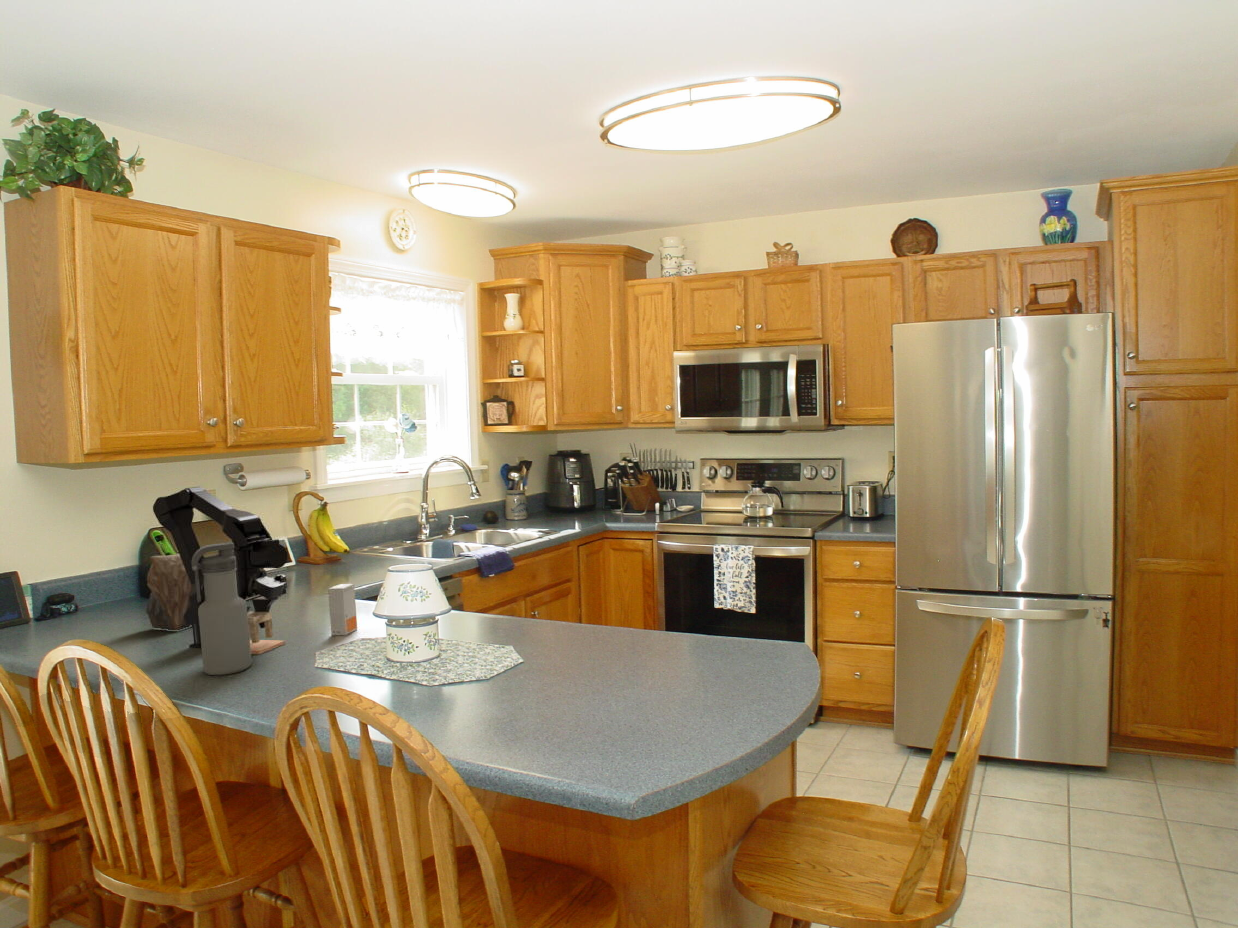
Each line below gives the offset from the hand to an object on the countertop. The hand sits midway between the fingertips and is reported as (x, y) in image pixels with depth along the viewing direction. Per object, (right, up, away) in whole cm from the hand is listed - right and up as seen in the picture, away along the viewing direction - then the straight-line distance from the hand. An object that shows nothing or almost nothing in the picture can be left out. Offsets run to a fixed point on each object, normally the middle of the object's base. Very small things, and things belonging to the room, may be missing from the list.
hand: (253, 631), depth 210 cm
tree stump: (-33, -5, +29) cm, 45 cm away
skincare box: (+19, -3, +11) cm, 22 cm away
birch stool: (0, -2, 0) cm, 2 cm away
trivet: (0, -4, 0) cm, 4 cm away
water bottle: (+1, -5, -17) cm, 18 cm away
